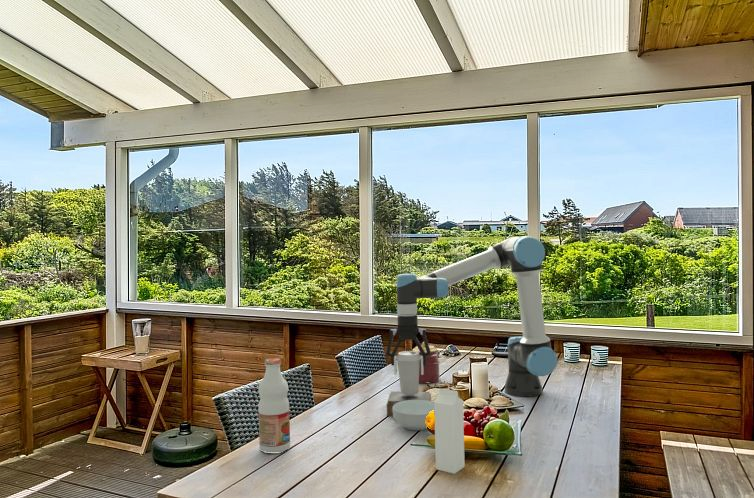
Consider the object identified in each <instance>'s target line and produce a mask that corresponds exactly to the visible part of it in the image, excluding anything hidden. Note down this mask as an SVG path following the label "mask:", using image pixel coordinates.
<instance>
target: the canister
mask: <svg viewBox="0 0 754 498" xmlns="http://www.w3.org/2000/svg"><path fill="white" fill-rule="evenodd" d="M428 345H429V344H428ZM421 346H422V348H423V349H424V351H425V352H427V351H426V347H425V344H424V341H423V342H422V343H421ZM429 348H430V352H431V354H430V355H428V356H426V365H423V375H421V359H420V368H419V384H427V383H426V382H430V383H429V384H433V383H434V384H435V383H437V382H439V381H440V360H439V356H440V354H439V353H438V352H437V351H438V348H437V347H435V346H433V345H429ZM412 351H416V352H419V355H420V356H422V354H421V352H420V350H419V349H418V347H417V345H416V346H415V347H414V348H413V349H412Z"/></svg>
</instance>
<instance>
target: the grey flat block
mask: <svg viewBox="0 0 754 498" xmlns="http://www.w3.org/2000/svg"><path fill="white" fill-rule="evenodd" d="M406 400H426V401H432V393H430V391H418V393H417V394H414V395H404V394H402V393H401V391H390V393H389V395H388V399H387V402H386V415H387V417H388V416H389V417H390V416H392V417H394V416H393V410H392V408H393V405H394V404H396V403H398V402H401V401H406Z"/></svg>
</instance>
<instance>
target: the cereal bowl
mask: <svg viewBox="0 0 754 498" xmlns="http://www.w3.org/2000/svg"><path fill="white" fill-rule="evenodd" d="M392 410H393V416H392V417H393V418H394V421H395V422H396V423H398V424H399V425H400V426H403V427H405V428H406V429H408V430H411V431H424V430H427V429H426V424H425V419H426V416H427V415H428V414H429V412H430V411H432V410H434V401H433V400H431V401H426V400H406V401H401V402H398V403H396V404H394V405H393V408H392Z"/></svg>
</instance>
